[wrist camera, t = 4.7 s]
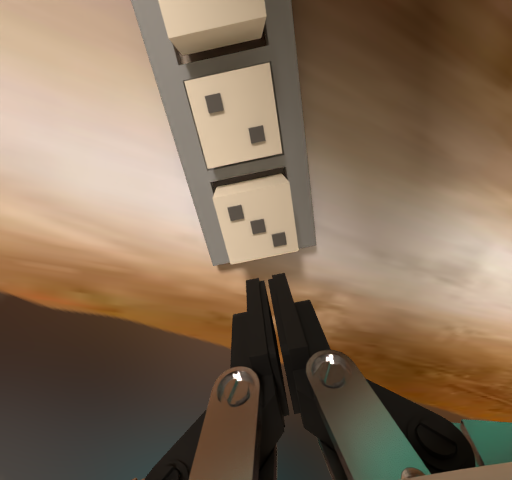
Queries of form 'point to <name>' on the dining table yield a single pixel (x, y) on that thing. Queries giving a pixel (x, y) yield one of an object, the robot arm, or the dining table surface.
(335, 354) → the robot arm
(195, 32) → the tile one
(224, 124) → the tile two
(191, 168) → the board
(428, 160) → the dining table surface
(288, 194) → the tile three
